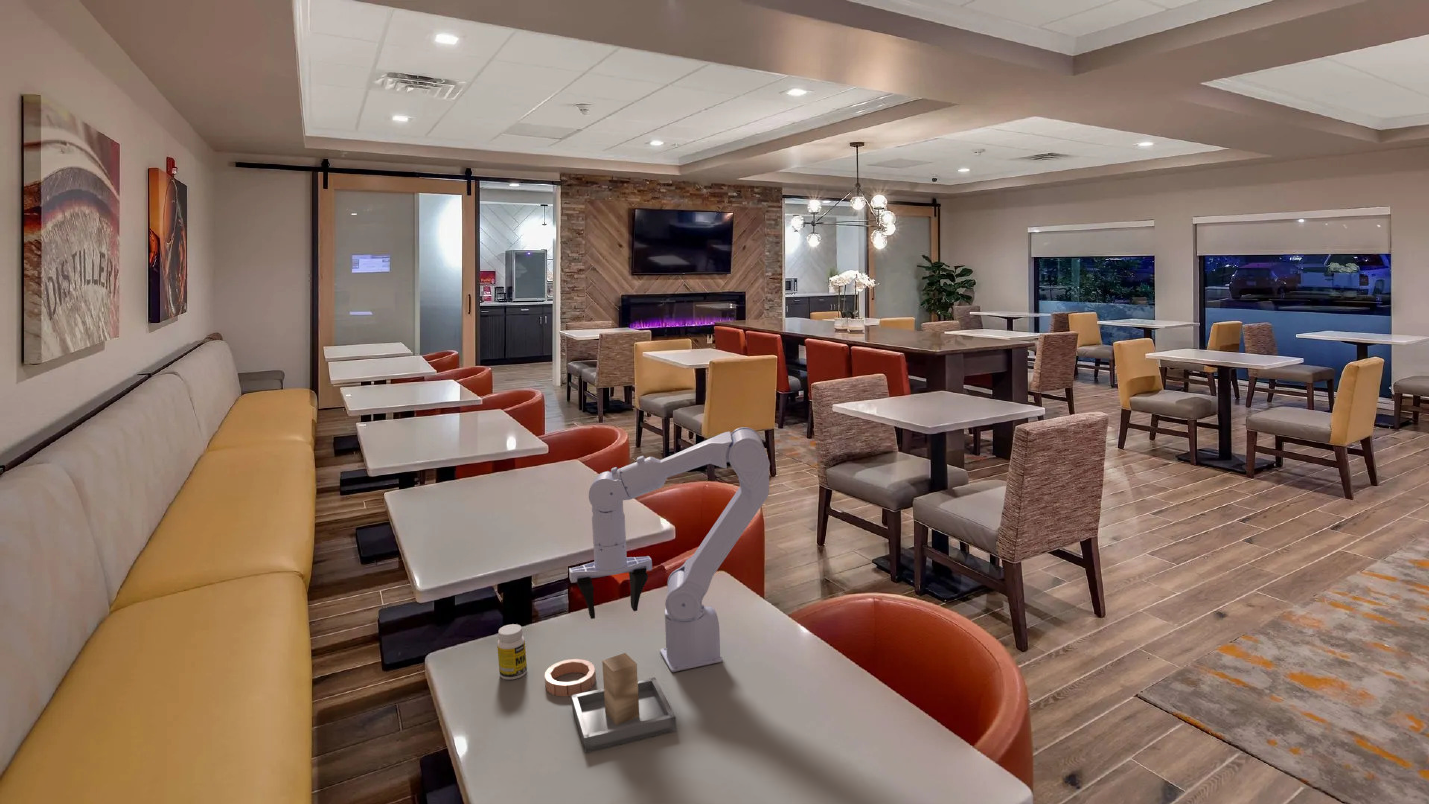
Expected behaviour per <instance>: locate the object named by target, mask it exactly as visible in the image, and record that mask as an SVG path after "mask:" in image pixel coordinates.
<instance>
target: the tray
mask: <svg viewBox="0 0 1429 804" xmlns="http://www.w3.org/2000/svg"><path fill="white" fill-rule="evenodd" d="M570 697H571V709H572V712H573V716H574V718H575V722H576V726H577V728H578V729H577V730H578V733H579V736H580V740H581V742H582V746H583V749H584V753H590V752H594V751H598V750H599V751H600V750H603V749H607V748H610V747H611V748H612V747H614V746H615V747H616V746H619V745H623V744H626V743H627V744H628V743H632V742H635V741H639V740H643V739H647V738H652V737H656V736H660V735H664V734H669V733H673V732H676V731H677V719H676V715H675V713H674V710H673V709H672V707H671V705H670V703H669V701H668V699H667V696H666V695H665V693H664V692H663V690H662V688H661V685H660V684H659V682H658V680H657V679H656V677H651V678H650V677H649V678H645V679H640V680H638V697H639V717H636V718H634V719H631V720H629V721H626V722H623V723H621V724H618V725H616V724H615V723H614V722H613V721H612V720H611V719H610V717H609V716H608V715H607V714H606V713H605V697H604V687H603V688H599V689H598V688H597V689H595V690H591V691H590V690H588V691H585V692H584V693H580V694H575V695H571V696H570Z"/></svg>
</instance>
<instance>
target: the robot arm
mask: <svg viewBox="0 0 1429 804" xmlns="http://www.w3.org/2000/svg"><path fill="white" fill-rule="evenodd" d="M766 451H767V450H766V449H765V445H764V443H763V440H762V438H761V435H760V434H759V433H758V432H757V431H756V430H755V429H753V428H751V427H745V426H744V427H743V426H742V427H738V428H736V429H734V430H733V431H732V432H731V431H724V432H722V433H719V434H717V435H715V436H713V437H711V438H708V439H706V440H703V441H701V442H699V443H697V444H694V445H692V446H690V447H687V448H685V449H682V450H681V451H679V452H675V453H674V454H672V455H669V456H667V457H664V458H662V459H659V458H656V457H654V456H648V457H646V458H645V456H644V455H640V456H638V457H637V458H636V460H635V461H636V462H633V463H630V464H627V465H625V466H623V467H620V468H618V467H617V466H615V467H612V468H611V469H610V471H603V472H601V473H599V474H597V475H596V477H595V478H594V480H593V481H592V483H591V485H590V488H589V490H588V501H589V503H590V505H591V512H592V516H591V526H592V542H593V558H594V559H593V560H594V561H592V562H589V563H586V564H582V565H580V566H579V565H578V566H575V567H569V568H568V573H569V575H568V576H569V580H570V581H569V582H570V583H571V584H572V583H573V584H575V583H576V584H577V586H578V588H579V590H580V593H581V594H582V595H583V598H584V600H585V603H586V606H587V610H588V615H589V618H590V619H591V620H593V619H596V611H595V604H594V590H595V588H594V584H593V582H592V579H594V578H601V577H606V576H614V575H620V574H625V573H628V575H629V584H630V608H631V609H632V612H637V611H638V608H639V603H640V598H641V595H642V592H643V589H644V588H645V585H646V583H647V582H648V577H649V574H648V572H647V571H653V560H652V558H651V557H650V556H649V555H647V556H636V557H635V556H633V557H632V556H630V557H627V554H628V553H627V552H628V551H627V536H626V534H627V533H626V516H625V513H624V501H630V500H632V499H635V498H637V497H640V496H641V497H642V496H643V495H646V494H648V493H651V492H653V491H656V490H659V489H661V488H664V485H665V483H666V481H667V479H668V478H671V477H673V476H677V475H680V474H682V473H685V472H688V471H692V470H694V469H698V468H700V467H704V466H705V465H709V464H710V465H714V466H716V467H719V468H722V469H727V468H728V465H727V463H729V464H730V467H731V468H732V470H733V471H734V473H736V476H737V478H738V483H739V488H738V489H737V490H736V492H735V494H734V495H733V496H732V497H731V499H730V500H729V502H728V503H727V505H726V506H725V508H724V509H723V510H722V512H721V514H720V515H719V517H718V518H717V520H716V521H715V523H714V524H713V526H712V527H711V529H710V530H709V532H708V533H707V534H706V536H705V537H704V539H703V540H702V541H701V543H700V545H699V546H698V548H697V549H696V550H695V552H694V553H693V555H692V556H690V557H689V558H687V559H685V562H684V563H683V564H682V565H681V566H680V567H679V568H676V569H675V570H673V571H672V572H671V573H670V574H669V576H668V578H667V580H666V581H667V583H666V586H667V590H666V591H667V592H666V599H665V604H664V605H665V609H664V621H665V622H664V627H665V646H666V647H665V648H663V647H662V648H660V649H659V653H660V655H661V656H662V658H663V660H664V661H665V663H666V665H667V667H668V668H669V670H670V672H671V673H674V672H680V671H685V670H689V669H693V668H698V667H704V666H709V665H712V664H716V663H721V662H722V661H723V659H722V657H721V640H720V639H721V637H720V632H721V631H720V623H719V618H718V615H717V612H716V610H715V608H714V607H713V606H705V605H704V604H703V599H704V597H705V595H706V594H707V592H708V591H709V588H710V586H711V585H710V584H711V582H712V580H713V576H714V575H715V574H716V572H717V571H718V569H719V568H720V567H721V565H722V563H724V561H725V559H727V556H728V555H729V554H730V552H731V550H733V548H734V547H735V545H736V544H737V542H738V541H739V539H740V538H741V537H742V534H743V533H744V532H745V531H746V529H747V528H748V526H749V525H750V523H751V522H752V521H753V519H754V518H755V516H756V515H757V513H758V512H759V510H760V509H761V507H762V506H763V505H764V503H765V502H766V500H767V499H768V497H769V493H770V466H771V462H770V459H769V457H768V454H767V452H766Z"/></svg>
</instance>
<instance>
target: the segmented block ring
mask: <svg viewBox="0 0 1429 804" xmlns="http://www.w3.org/2000/svg"><path fill="white" fill-rule="evenodd" d="M571 673H578V674H579V673H581V674H583V675H584V676H583V677H581V678H579V679H578V680H577V679H576V680H572V681H557V680H556V679H557V678H559V677H560V676H563V675H565V674H566V675H567V674H571ZM596 676H597V674H596V668H595V665H594V663H592V662H591V661H588V660H586V659H581V658H580V659H579V658H573V659H571V658H570V659H565V660H561V661H558V662H556V663H554V664H552V665H550V666H549V667H548V668H547V669H546V671H545V672H544V684H545V690H546V691H547V692H548V693H550V694H551V695H553V696H556V697H571V695H575V694H580V693H584V692H588V691H590V689H592V688H593V687H594V685H595V684H596V682H597V677H596Z"/></svg>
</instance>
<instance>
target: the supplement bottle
mask: <svg viewBox="0 0 1429 804" xmlns="http://www.w3.org/2000/svg"><path fill="white" fill-rule="evenodd" d="M522 628H523V627H522V626H521V625H520V624H518V623H516V624H514V623H512V624H506V625H503V626H502V627H500V628H499V629H498V641H497V643H496V646H497V647H496V648H497V658H498V669H499V671H498V672H499V676H500V678H502V679H503V680H517V679H520V678H522V677H523V676H525V674H526V673H527V670H528V666H527V665H528V664H527V654H526V653H527V652H526V640H525V637H524V636H523V629H522Z"/></svg>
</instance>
